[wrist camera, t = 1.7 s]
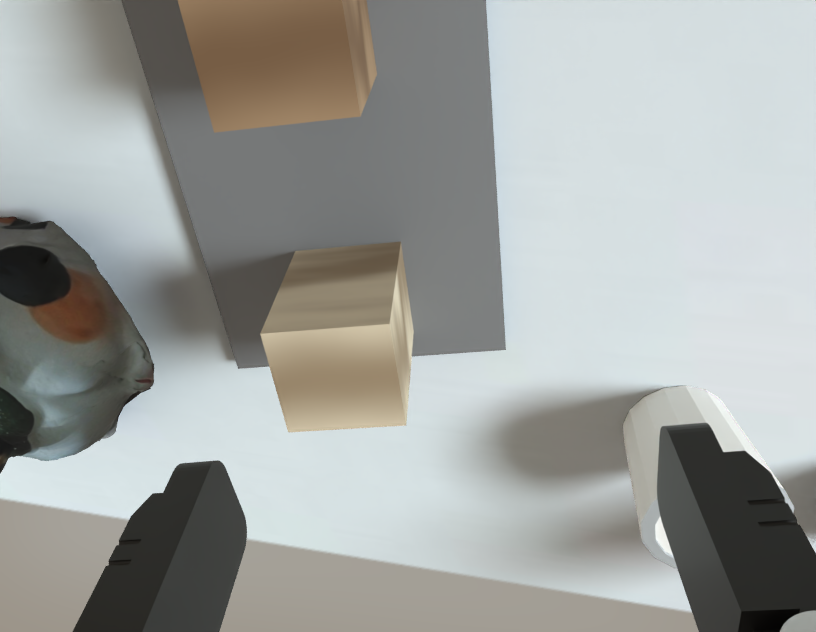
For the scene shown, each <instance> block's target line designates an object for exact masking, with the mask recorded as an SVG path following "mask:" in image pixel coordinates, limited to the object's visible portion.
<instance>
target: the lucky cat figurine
mask: <svg viewBox="0 0 816 632" xmlns="http://www.w3.org/2000/svg"><path fill="white" fill-rule="evenodd" d="M153 373H154V364H153V362H152V359H151V356H150V352H149V349H148V347H147V345H146V343H145V341H144V340H143V338H142V336H141V335H140V333H139V331H138V330H137V328H136V326H135V325H134V323H133V321H132V319H131V317H130V315H129V314H128V312H127V311H126V310H125V308H124V307H123V305H122V304H121V302H120V301H119V299H118V298H117V296H116V295H115V293H114V292H113V290H112V288H111V287H110V286H109V284H108V282H107V281H106V280H105V279H104V278H103V276H102V275H101V274H100V272H99V271H98V269H97V267H96V264H95V262H94V260H92V259H91V257H90V255H89V254H88V253H87V252H86V251H85V250H84V249H83V248H82V247H81V246H79V245H78V244H77V243H76V242H75V241H74V240H73V239H72V238H71V237H70V236H69V235H68V234H66V232H65V231H64V230H63V229H62V228H60V227H59V226H58V225H56V224H55V223H54V222H52V221H46V222H39V223H33V224H30V222H28V221H24V220H20V219H18V218H16V217H9V218H0V473H1V472H2V470H3V468H4V466H5V464H6V462H7V460H8V458H9V457H15V456H24V457H30V458H35V459H39V460H41V461H49V460H57V459H59V458H63V457H67V456H70V455H75V454H77V453H79V452H81V451H83V450H84V449H87V448H88V447H90V446H91V445H92V444H94V443H95V442H97V441H100V440H101V439H102V438H108V437H110V436H112V435H113V434H114V433H115V431H116V427H117V421H118V417H119V415H120V413H121V411H122V409H123V407H124V405H126V404H127V403H128V402H130V401H131V400H132V399H133V398H135V397H136V396H137V395H139V394H140V393H141V392H144V391H146V390H149V389H151V388H150V387H151V386H152V385H153V383H154V377H153Z"/></svg>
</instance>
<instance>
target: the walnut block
mask: <svg viewBox="0 0 816 632" xmlns="http://www.w3.org/2000/svg"><path fill="white" fill-rule="evenodd" d="M178 4H179V7H180V11H181V15H182V18H183V22H184V25H185V29H186V33H187V36H188V40H189V43H190V47H191V51H192V54H193V58H194V62H195V65H196V69H197V72H198V76H199V80H200V83H201V87H202V90H203V94H204V98H205V101H206V105H207V108H208V112H209V116H210V119H211V123H212V127H213V130H214V133H215V132H224V131H233V130H242V129H251V128H260V127H270V126H279V125H288V124H297V123H306V122H315V121H324V120H333V119H342V118H351V117H360V116H361V114H362V111H363V109H364V106H365V104H366V101H367V99H368V96H369V94H370V91H371V88H372V86H373V83H374V81H375V78H376V76H377V70H376V63H375V56H374V49H373V42H372V35H371V28H370V21H369V14H368V7H367V0H178Z"/></svg>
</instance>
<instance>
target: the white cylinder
mask: <svg viewBox="0 0 816 632" xmlns="http://www.w3.org/2000/svg"><path fill="white" fill-rule="evenodd" d="M694 423H708V424H709V425H710V427H711V428H712V430H713V432H714V434H715V436H716V438H717V440H718V442H719V444H720V446H721V448H722V450H723V452H732V451H746V452H747V453H748V454H750V455H751V456H752V457H753V458H754V459H755V460H757V461H758V462H759V463H760V464H761V465H763V466H764V467H765V468H766V469H767V470H769V471H770V472H771V474H772V476H773V478H774V480H775V481H776V483H777V485H778V487H779V488H780V490H781V492H782V494H783V496H784V497H785V502H786V503H788V505H789V506H790V508H791V510H792V512H793V514H794V506H793V504H792V502H791V500H790V498H789V497H788V495H787V493H786V491H785V489H784V488H783V486H782V485H781V484H780V482H779V481H778V479H777V478H776V477H775V475H774V474H773V472H772V471H771V470H770V468H769V467H768V465H767V464H766V463H765V461H764V460H763V458H762V457H761V455H760V454H759V453H758V451H757V450H756V448H755V447H754V446H753V444H752V443H751V441H750V440H749V439H748V437H747V436H746V434H745V433H744V432H743V430H742V429H741V427H740V426H739V424H738V423H737V422H736V420H735V419H734V417H733V416H732V415H731V413H730V412H729V410H728V409H727V408H726V406H725V405H724V403H723V402H722V400H721V399H720V398H719V397H717V396H715V395H714V394H712V393H711V392H709V391H707V390H706V389H702V388H697V387H691V386H686V385H684V386H676V387H668V388H663V389H660V390H658V391H656V392H654V393H651V394H649V395H647V396H645V397H643V398H642V399H641V400H640V401H639V402H638V403H637V404H635V405H634V406H633V407H632V408H631V409H630V410H629V412H628V415H627V417H626V419H625V421H624V423H623V436H624V444H625V449H626V455H627V461H628V466H629V472H630V478H631V483H632V489H633V494H634V500H635V506H636V511H637V517H638V522H639V528H640V534H641V539H642V542H643V544H644V545H645V546H646V548H647V549H648V550H649V552H650V553H651V554H652V556H653V557H654V558H656V559H658V560H660V561H662V562H664V563H666V564H667V565H669V566H671V567H673V568H677V565H676V562H675V559H674V557H673V554H672V551H671V548H670V545H669V542H668V539H667V536H666V533H665V530H664V527H663V524H662V521H661V517H660V512H659V507H658V499H657V474H658V456H659V437H660V429H661V427H662V426H670V425H682V424H694Z"/></svg>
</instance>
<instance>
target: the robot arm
mask: <svg viewBox="0 0 816 632" xmlns="http://www.w3.org/2000/svg"><path fill="white" fill-rule="evenodd" d="M657 499H658V507H659V512H660V517H661V521H662V524H663V527H664V530H665V533H666V536H667V539H668V542H669V545H670V548H671V551H672V554H673V557H674V559H675V562H676V565H677V568H678V571H679V574H680V577H681V580H682V583H683V586H684V589H685V592H686V595H687V598H688V601H689V604H690V607H691V610H692V613H693V615H694V618H695V621H696V624H697V627H698V630H699V632H816V553H815V551H814V550H813V548H812V546H811V544H810V542H809V541H808V539H807V537H806V535H805V533H804V532H803V530H802V528H801V526H800V525H798V524H797V519H796V517H795V515H794V514H793V512H792V510H791V508H790V506H789V505H788V503H786V502H785V497H784V496H783V494H782V492H781V490H780V488H779V487H778V485H777V483H776V481H775V480H774V478H773V476H772V474H771V472H770V471H769V470H767V469H766V468H765V467H764V466H763V465H761V464H760V463H759V462H758V461H757V460H755V459H754V458H753V457H752V456H751V455H750V454H748V453H747V452H746V451H732V452H723V450H722V448H721V446H720V444H719V442H718V440H717V438H716V436H715V434H714V432H713V430H712V428H711V427H710V425H709V424H708V423H694V424H682V425H670V426H662V427H661V429H660V437H659V456H658V474H657ZM246 538H247V527H246V520H245V516H244V513H243V510H242V508H241V505H240V503H239V500H238V498H237V495H236V493H235V491H234V488H233V486H232V483H231V481H230V478H229V476H228V473H227V471H226V468H225V466H224V465H223V463H222V462H220V461H206V462H194V463H182V464H179V465H178V466H177V467H176V468H175V470H174V471H173V473H172V475H171V478H170V480H169V482H168V484H167V486H166V488H165V490H164V492H163V493H155V494H152V495H151V496H150V497H149V498H148V499H147V500H146V501H145V502H144V503H143V504H142V505H141V506H140V507H139V509H138V510H137V511H136V512H135V513H134V514H133V515H132V516H131V518H130V520H129V522H128V524H127V526H126V528H125V530H124V532H123V534H122V535H121V538H120V540H119V545H117V546H116V547H115V550H114V551H113V553H112V555H111V557H110V559H109V565H108V566H106V567H105V569H104V571H103V573H102V575H101V577H100V579H99V581H98V583H97V585H96V587H95V589H94V591H93V593H92V595H91V597H90V599H89V601H88V602H87V604H86V607H85V609H84V610H83V613H82V614H81V616H80V618H79V620H78V622H77V624H76V626H75V628H74V630H73V632H219V631H220V628H221V624H222V621H223V618H224V615H225V611H226V608H227V605H228V601H229V598H230V595H231V592H232V589H233V586H234V582H235V579H236V576H237V572H238V569H239V566H240V563H241V560H242V556H243V553H244V550H245V546H246Z"/></svg>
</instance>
